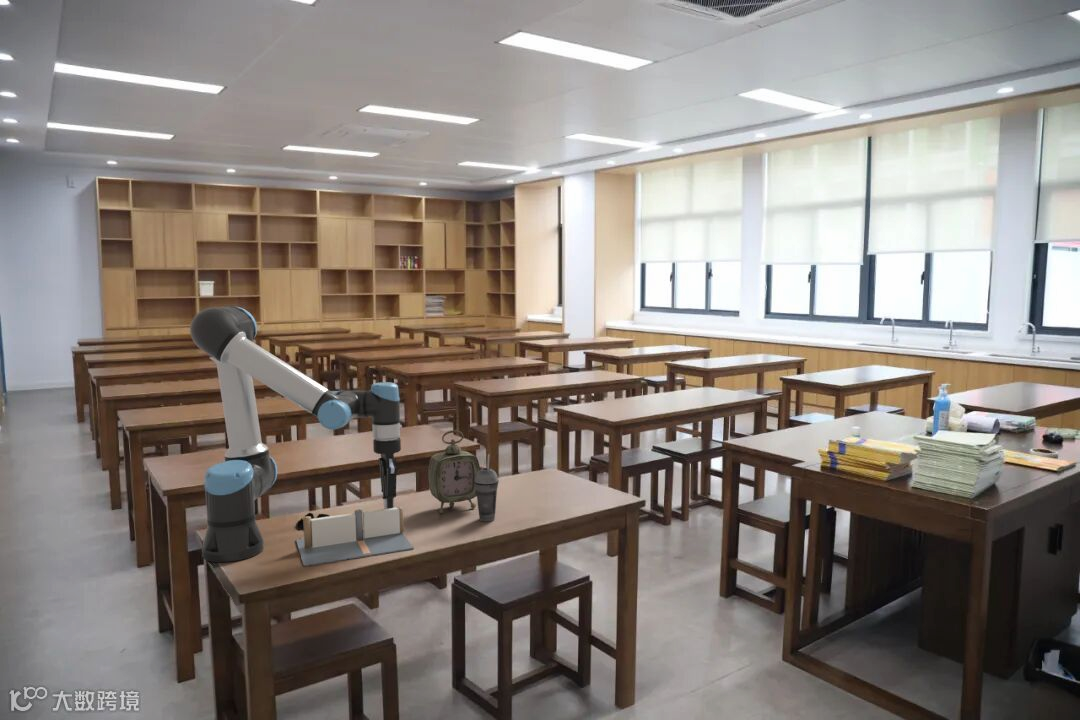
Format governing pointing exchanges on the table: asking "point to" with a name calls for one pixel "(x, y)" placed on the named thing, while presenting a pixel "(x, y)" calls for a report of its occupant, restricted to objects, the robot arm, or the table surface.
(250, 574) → the table surface
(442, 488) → the tabletop clock
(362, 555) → the card
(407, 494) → the table surface
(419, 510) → the table surface
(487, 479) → the beverage cup
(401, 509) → the cream upright panel
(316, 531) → the fixed fence section
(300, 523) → the black jagged rounded shell
